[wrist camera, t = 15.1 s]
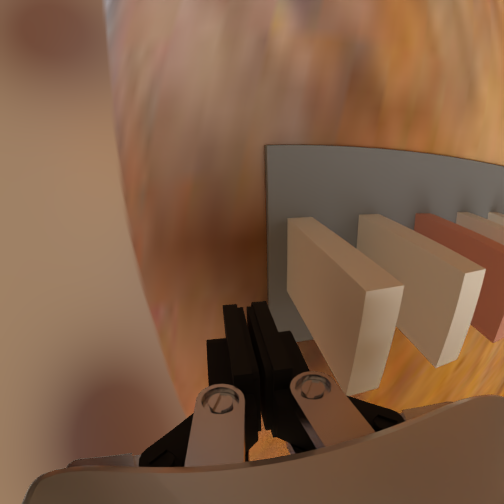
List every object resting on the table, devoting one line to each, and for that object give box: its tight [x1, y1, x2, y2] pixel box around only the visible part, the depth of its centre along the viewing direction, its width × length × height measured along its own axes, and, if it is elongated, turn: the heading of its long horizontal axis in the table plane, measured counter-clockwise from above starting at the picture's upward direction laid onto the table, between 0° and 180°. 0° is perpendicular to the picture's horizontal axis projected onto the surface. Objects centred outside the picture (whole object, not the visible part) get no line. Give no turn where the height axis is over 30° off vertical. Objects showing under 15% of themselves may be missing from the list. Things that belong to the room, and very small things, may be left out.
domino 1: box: [287, 217, 404, 396], centre depth 15 cm, size 5×2×10 cm, turn 2°
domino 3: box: [456, 212, 504, 245], centre depth 17 cm, size 5×2×10 cm, turn 2°
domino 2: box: [357, 214, 486, 368], centre depth 16 cm, size 5×2×10 cm, turn 2°
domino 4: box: [414, 213, 504, 343], centre depth 16 cm, size 5×2×10 cm, turn 1°
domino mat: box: [265, 145, 504, 342], centre depth 22 cm, size 14×34×1 cm, turn 92°
